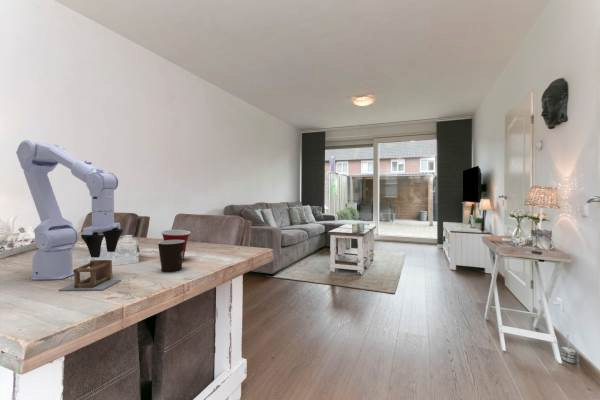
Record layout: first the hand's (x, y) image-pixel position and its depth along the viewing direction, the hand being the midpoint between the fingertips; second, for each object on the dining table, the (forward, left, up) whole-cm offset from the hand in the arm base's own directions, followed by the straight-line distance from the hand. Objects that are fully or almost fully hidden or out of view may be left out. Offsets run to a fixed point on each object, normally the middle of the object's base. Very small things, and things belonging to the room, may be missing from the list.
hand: (103, 254), depth 88 cm
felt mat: (0, -6, -8) cm, 10 cm away
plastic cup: (+13, +24, -8) cm, 29 cm away
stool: (0, -1, -5) cm, 5 cm away
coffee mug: (+17, +12, -8) cm, 22 cm away
